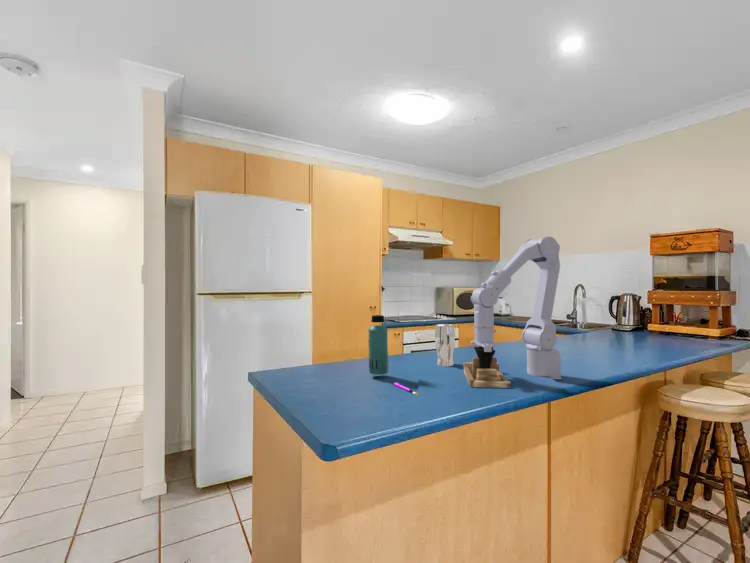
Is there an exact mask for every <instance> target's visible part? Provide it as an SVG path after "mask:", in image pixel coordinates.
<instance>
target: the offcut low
mask: <svg viewBox="0 0 750 563" xmlns="http://www.w3.org/2000/svg"><path fill="white" fill-rule="evenodd" d="M476 381H501V377H500V376H499V375H497V377H478V376H477V375H476Z"/></svg>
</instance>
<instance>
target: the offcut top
mask: <svg viewBox="0 0 750 563" xmlns="http://www.w3.org/2000/svg"><path fill="white" fill-rule="evenodd" d="M477 376H478V377H497V370H496V369H477Z"/></svg>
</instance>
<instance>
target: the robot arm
mask: <svg viewBox="0 0 750 563" xmlns="http://www.w3.org/2000/svg"><path fill="white" fill-rule="evenodd" d="M560 248H561V245H560V244H559V243H558V241H557V240H556V238H555V237H552V236H551V235H550V236H544V237H541V238H540V237H538V238H533V239H532V238H529V239H527V240H525V241H524V243H523V244H521V245H520V246H519V249H518V250H517V251H516V253H514V255H513V256H512V257H511V258H510V260H509V261H508V262H507V263H506V265H505V266H504V267H503V268H502V269H496V270H492V272H491V273H490V276H489V278H488V279H486V280H485V281H484V282H482V283H481V284H480V285H481V286H480V287H477V288H475V289H474V290H473V292H472V294H471V296H470V297H469V298H470V302H471V303H472V305H473V314H474V316H473V317H474V318H473V320H474V322H473V324H474V340H470V344H472V345H476V346H474V347H473V349H474V351H475V353H476V356H477V357H476V358H479V361H480V368H481V369H490V365H491V361H492V358H494V356H495V353H496V350H495V349H494V347H493V346H494V345H495V343H496V341H495V324H494V322H495V320H494V318H495V317H494V316H495V315H494V314H495V313H494V311H495V310H494V307H495V305H496V304H497V302H498V300H499V299H498V298H499V296H500V295H501V294H502V293H503V292H504V291H505V289H507V287H508V286H509V285H510V284H511V283H512V277H513V275H514V274H516V273H517V272H518V271H519V270H520V269H521V268H522V267H523V266H524V265H525V264H526V263H527V262H528V261H531V262H533V263H534V264H535V265H537V266H538V268H539V269H540V270H539V271H540V272H539V277H538V282H537V289H536V295H535V302H534V306H533V312H532V316H531V317H530V318H529V319H528V320H527V321H526V324H525V327H524V329H523V330H522V333H521V339H522V341H523V343H525V347H526V373H527V374H528V375H530V376H533V377H534V376H535V377H550V378H551V379H552V380H562V377H561V375H562V374H561V373H562V370H561V368H562V367H561V354H560V351H559V350H558V349H557V348H554V347H555V346H556V344H557V342H558V336H557V326H556V324H555V323H554V322H553V321H552V316H553V311H554V310H553V309H554V306H555V305H554V304H555V299H556V293H557V287H558V282H559V276H560V270H561V262H560V256H559V255H560Z"/></svg>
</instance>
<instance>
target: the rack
mask: <svg viewBox="0 0 750 563" xmlns="http://www.w3.org/2000/svg"><path fill="white" fill-rule="evenodd" d="M463 373H464V375H465V378H466V380H467V383H468V385H469V388H493V389H494V388H496V389H498V388H500V389H512V388H511V381H509V380H508V379H507V378H506V376H505V375H504V374H503V372H501V370H500V363H499V362H497V375H499V376H500V377H501V381H476V379H474V378H473V375H472V362H471V361H470V362H467V361H466V362H463Z"/></svg>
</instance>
